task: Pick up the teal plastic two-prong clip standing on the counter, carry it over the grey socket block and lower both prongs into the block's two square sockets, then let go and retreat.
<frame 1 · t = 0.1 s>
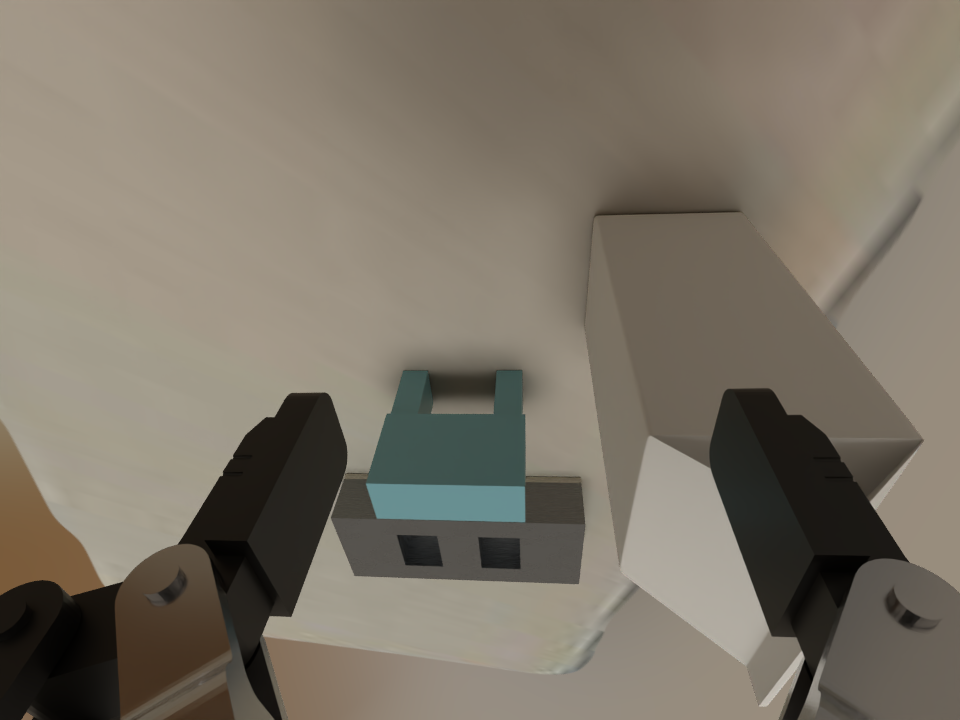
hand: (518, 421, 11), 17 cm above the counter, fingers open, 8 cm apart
milk carton: (655, 273, 28), on the counter
grey socket block: (465, 507, 42), on the counter
clip: (463, 387, 34), on the counter
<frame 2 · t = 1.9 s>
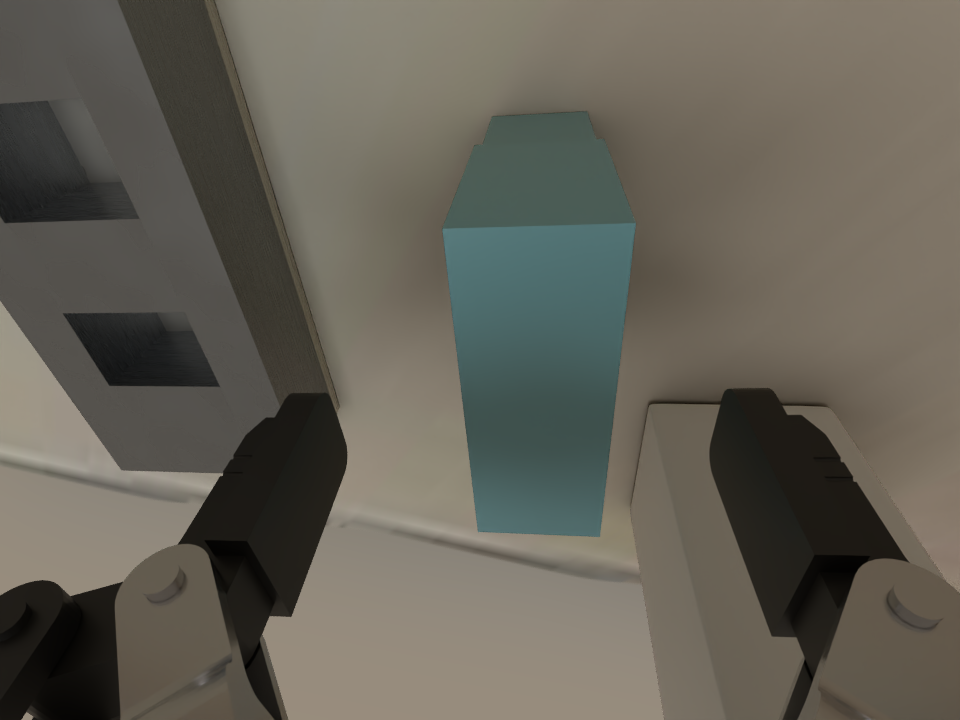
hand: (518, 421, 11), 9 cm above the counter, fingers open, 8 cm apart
milk carton: (717, 457, 23), on the counter
grey socket block: (174, 218, 18), on the counter
clip: (539, 234, 18), on the counter
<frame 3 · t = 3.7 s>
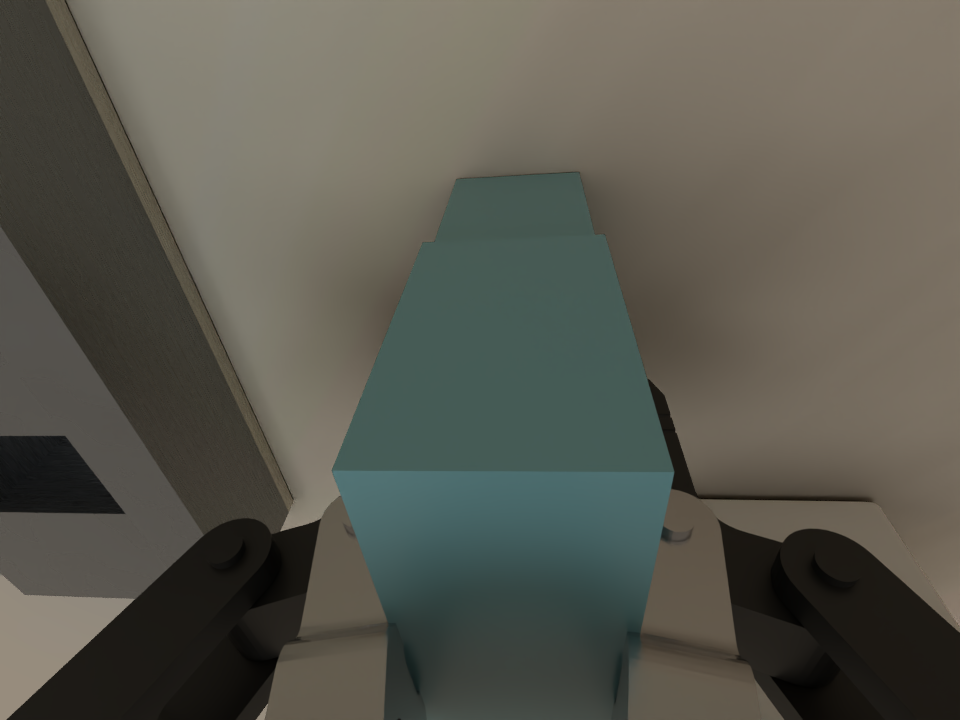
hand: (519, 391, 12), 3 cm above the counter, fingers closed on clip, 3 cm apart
milk carton: (739, 551, 20), on the counter
grey socket block: (70, 299, 15), on the counter
clip: (522, 316, 14), on the counter, touching gripper
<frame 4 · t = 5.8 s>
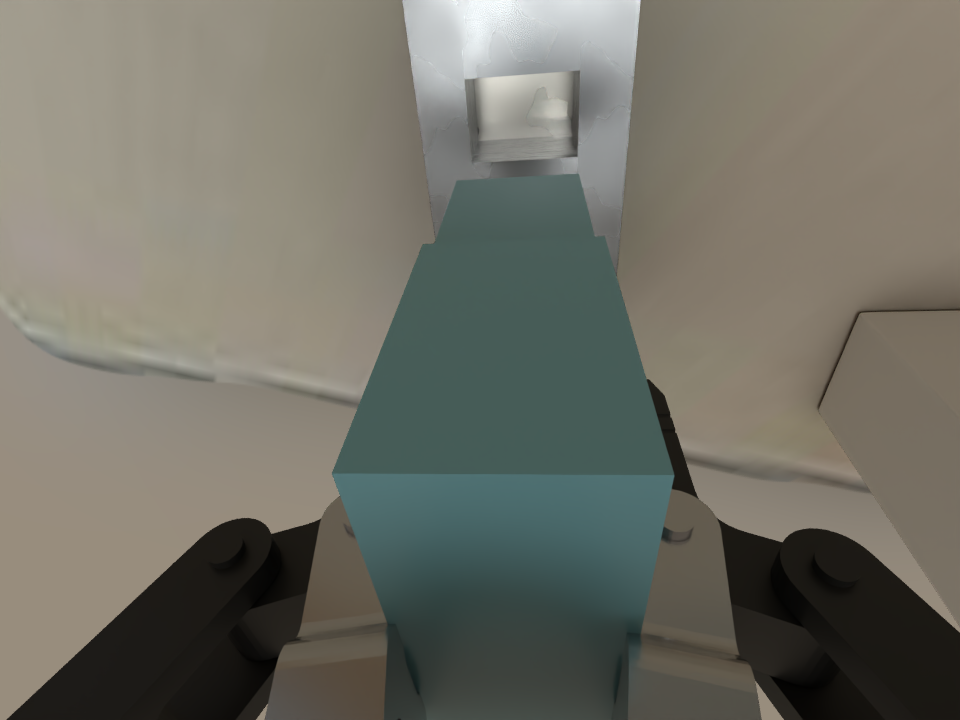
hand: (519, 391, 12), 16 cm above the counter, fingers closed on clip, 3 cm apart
milk carton: (899, 360, 30), on the counter
grey socket block: (525, 168, 25), on the counter
clip: (522, 318, 14), point 13 cm above the counter, touching gripper
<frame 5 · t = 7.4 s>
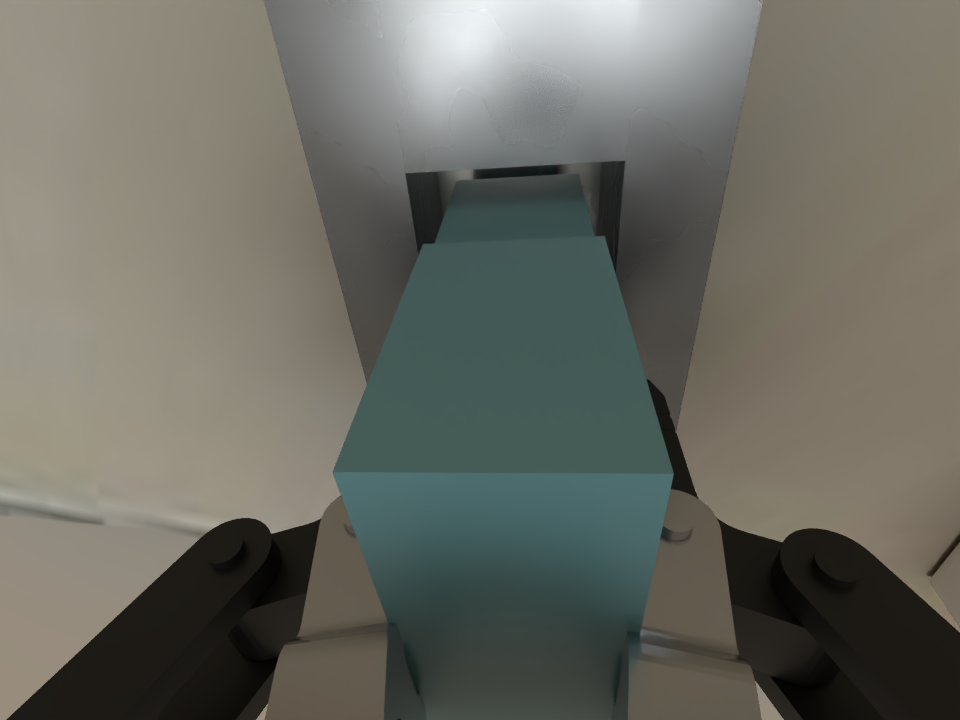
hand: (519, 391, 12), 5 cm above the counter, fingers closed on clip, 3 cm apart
grey socket block: (522, 279, 16), on the counter
clip: (522, 317, 14), point 2 cm above the counter, touching gripper
when the fingers open (5 cm above the counter, at t = 8.3 s): clip drops 1 cm, resting on grey socket block.
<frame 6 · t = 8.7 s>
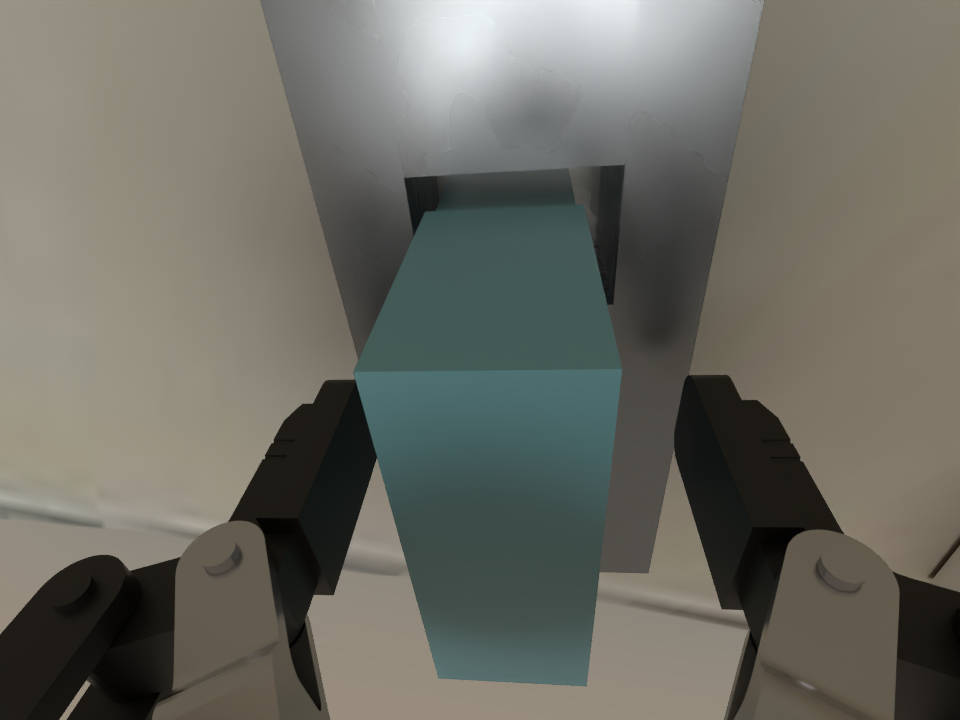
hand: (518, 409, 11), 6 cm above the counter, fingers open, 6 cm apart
grey socket block: (521, 282, 16), on the counter
clip: (515, 291, 15), point 1 cm above the counter, touching grey socket block
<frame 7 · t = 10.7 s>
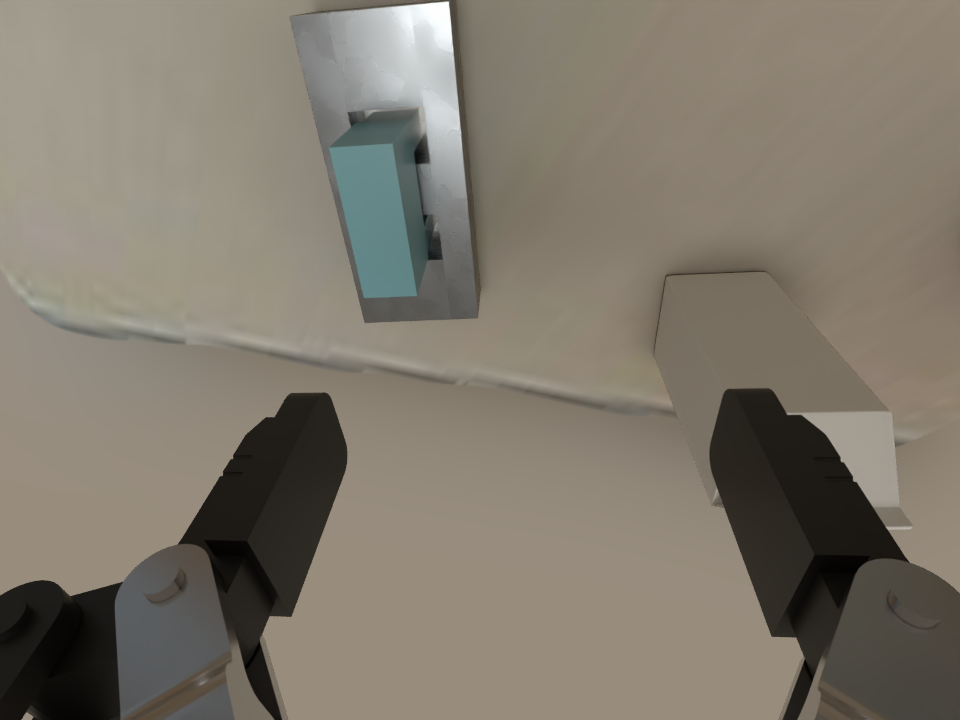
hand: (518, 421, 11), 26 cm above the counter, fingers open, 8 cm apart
milk carton: (705, 313, 39), on the counter
grey socket block: (409, 171, 34), on the counter
clip: (405, 174, 33), resting on grey socket block
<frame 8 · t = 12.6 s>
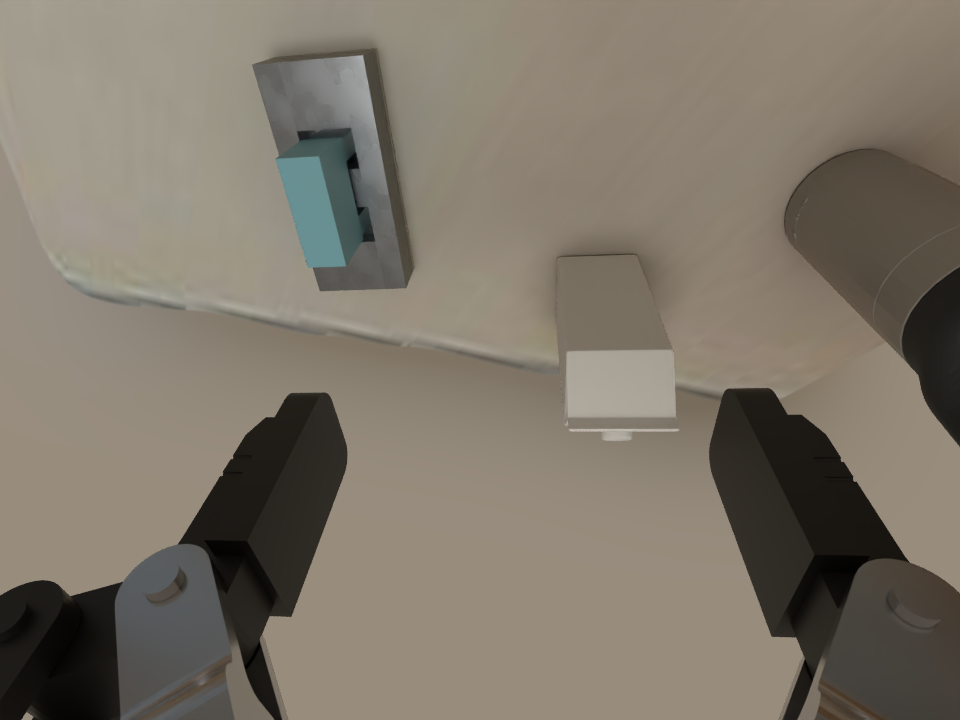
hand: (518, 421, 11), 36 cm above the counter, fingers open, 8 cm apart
milk carton: (594, 288, 49), on the counter
grey socket block: (352, 174, 44), on the counter
clip: (348, 176, 44), resting on grey socket block
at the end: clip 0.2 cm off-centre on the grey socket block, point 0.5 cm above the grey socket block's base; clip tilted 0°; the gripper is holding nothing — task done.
